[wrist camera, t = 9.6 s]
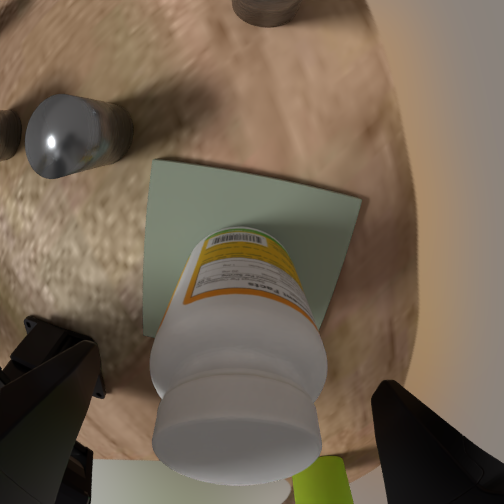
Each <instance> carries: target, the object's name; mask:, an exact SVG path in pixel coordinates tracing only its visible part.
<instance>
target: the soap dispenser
mask: <svg viewBox="0 0 504 504" xmlns="http://www.w3.org/2000/svg"><path fill="white" fill-rule="evenodd" d="M292 480H293V488H294V496H295V504H354V503H353V499H352V495H351V490H350V486H349V482H348V478H347V474H346V470H345V466H344V462H343V459H342V458H341V457H338V456H322V457H318V458H317V459H316V461H315V462H314V463H313V464H311V465H310V466H309V467H308V468H306V469H305V470H303V471H301V472H299V473H297V474H295V475H293V476H292Z"/></svg>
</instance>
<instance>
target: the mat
mask: <svg viewBox="0 0 504 504" xmlns="http://www.w3.org/2000/svg"><path fill="white" fill-rule="evenodd" d="M361 202H362V200H361V199H359V198H358V197H354V196H350V195H346V194H342V193H339V192H335V191H331V190H326V189H322V188H318V187H314V186H310V185H305V184H301V183H296V182H292V181H287V180H282V179H278V178H273V177H268V176H263V175H258V174H252V173H247V172H242V171H236V170H230V169H224V168H218V167H212V166H206V165H199V164H192V163H185V162H178V161H171V160H163V159H153V160H152V168H151V176H150V184H149V193H148V203H147V215H146V227H145V243H144V264H143V335H144V336H148V337H153V338H155V337H156V334H157V331H158V329H159V326H160V324H161V321H162V319H163V317H164V314H165V312H166V309H167V307H168V304H169V302H170V300H171V297H172V295H173V293H174V290H175V288H176V286H177V283H178V281H179V278H180V276H181V274H182V271H183V269H184V267H185V265H186V262H187V260H188V258H189V256H190V254H191V252H192V251H193V249H194V248H195V247H196V246H197V244H198V243H199V242H200V241H201V240H203V239H204V238H205V237H207V236H208V235H210V234H212V233H213V232H216V231H218V230H221V229H224V228H229V227H250V228H254V229H258V230H261V231H263V232H265V233H267V234H269V235H271V236H272V237H274V238H275V239H276V240H278V241H279V242H280V243H281V244H282V245H283V247H284V248H285V249H286V251H287V252H288V254H289V256H290V258H291V260H292V262H293V264H294V267H295V270H296V272H297V275H298V278H299V280H300V283H301V286H302V288H303V291H304V294H305V296H306V299H307V302H308V304H309V307H310V310H311V312H312V315H313V318H314V320H315V323H316V326H317V328H318V331H319V329H320V326H321V324H322V321H323V319H324V316H325V313H326V311H327V308H328V305H329V303H330V300H331V297H332V294H333V291H334V289H335V286H336V283H337V280H338V277H339V274H340V271H341V268H342V265H343V262H344V259H345V256H346V253H347V250H348V247H349V243H350V240H351V237H352V234H353V230H354V227H355V224H356V220H357V217H358V213H359V210H360V206H361Z"/></svg>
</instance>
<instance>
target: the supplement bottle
mask: <svg viewBox="0 0 504 504" xmlns="http://www.w3.org/2000/svg"><path fill="white" fill-rule="evenodd" d="M327 369H328V366H327V357H326V352H325V348H324V345H323V342H322V339H321V336H320V333H319V331H318V328H317V326H316V323H315V320H314V318H313V315H312V312H311V310H310V307H309V304H308V302H307V299H306V296H305V294H304V291H303V288H302V286H301V283H300V280H299V278H298V275H297V272H296V270H295V267H294V264H293V262H292V260H291V258H290V256H289V254H288V252H287V251H286V249H285V248H284V247H283V245H282V244H281V243H280V242H279V241H278V240H276V239H275V238H274V237H272V236H271V235H269V234H267V233H265V232H263V231H261V230H258V229H254V228H250V227H229V228H224V229H221V230H218V231H216V232H213V233H212V234H210V235H208V236H207V237H205V238H204V239H203V240H201V241H200V242H199V243H198V244H197V246H196V247H195V248H194V249H193V251H192V252H191V254H190V256H189V258H188V260H187V262H186V265H185V267H184V269H183V271H182V274H181V276H180V278H179V281H178V283H177V286H176V288H175V290H174V293H173V295H172V297H171V300H170V302H169V304H168V307H167V309H166V312H165V314H164V317H163V319H162V321H161V324H160V326H159V329H158V331H157V334H156V337H155V340H154V343H153V346H152V350H151V355H150V374H151V378H152V382H153V385H154V387H155V389H156V391H157V393H158V394H159V396H160V397H161V399H162V400H161V402H160V404H159V407H158V412H157V419H156V423H155V428H154V433H153V438H152V447H153V450H154V452H155V454H156V456H157V457H158V458H159V460H160V461H162V462H163V463H164V464H165V465H166V466H168V467H169V468H171V469H172V470H174V471H176V472H178V473H180V474H182V475H184V476H187V477H190V478H193V479H196V480H200V481H203V482H209V483H214V484H221V485H234V486H244V485H257V484H264V483H270V482H274V481H278V480H282V479H285V478H288V477H291V476H293V475H295V474H297V473H299V472H301V471H303V470H305V469H306V468H308V467H309V466H310V465H311V464H313V463H314V462H315V461H316V459H317V458H318V457H319V455H320V452H321V450H322V440H321V435H320V429H319V423H318V418H317V412H316V407H315V405H314V402H315V401H316V399H317V398H318V396H319V395H320V393H321V391H322V389H323V386H324V384H325V381H326V377H327Z"/></svg>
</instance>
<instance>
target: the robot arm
mask: <svg viewBox="0 0 504 504" xmlns="http://www.w3.org/2000/svg"><path fill="white" fill-rule="evenodd" d="M24 325H25V328H26V331H27V336H26V337H25V338H24V339H23V340H22V342H21V343H20V344H19V345H18V346H17V348H16V349H15V350H14V351H13V353H12V354H11V356H10V358H11V360H10V361H9V362H8V364H7V365H6V366H5V368H4V369H3V370H1V369H2V368H1V367H0V504H90V503H91V486H92V484H91V483H92V465H93V451H92V450H90V449H89V448H88V447H85V446H83V445H82V444H80V443H79V442H78V441H76V438H77V436H78V433H79V431H80V428H81V426H82V423H83V421H84V418H85V416H86V413H87V411H88V408H89V405H90V401H91V398H92V396H94V397H97V398H100V399H104V398H105V395H106V391H105V387H104V383H103V379H102V374H101V370H100V368H101V360H100V355H99V350H98V345H97V344H96V343H95V342H94V340H93V339H92V338H90V337H88V336H84V335H81V334H78V333H75V332H72V331H69V330H66V329H63V328H60V327H57V326H54V325H51V324H48V323H46V322H43V321H40V320H38V319H35V318H32V317H30V316H27V317H26V318H25V319H24ZM371 406H372V414H373V422H374V430H375V438H376V444H377V448H378V453H379V458H380V463H381V468H382V473H383V478H384V483H385V489H386V495H387V501H388V504H504V463H502V462H501V461H499V460H498V459H496V458H494V457H493V456H491V455H490V454H488V453H487V452H485V451H483V450H482V449H481V448H479V447H478V446H476V445H475V444H474V443H473V442H471V441H470V440H468V439H467V438H466V437H465V436H463V435H462V434H461V433H460V432H458V431H457V430H456V429H455V428H454V427H452V426H451V425H450V424H448V423H447V422H446V421H445V420H443V419H442V418H441V417H440V416H438V415H437V414H436V413H435V412H433V411H432V410H431V409H430V408H428V407H427V406H426V405H425V404H423V403H422V402H421V401H420V400H419V399H417V398H416V397H415V396H414V395H412V394H411V393H410V392H409V391H407V390H406V389H405V388H404V387H402V386H401V385H400V384H399V383H397V382H396V381H395V380H383V381H382V382H381V383H380V385H379V386H378V388H377V389H376V391H375V392H374V394H373V395H372V398H371Z"/></svg>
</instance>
